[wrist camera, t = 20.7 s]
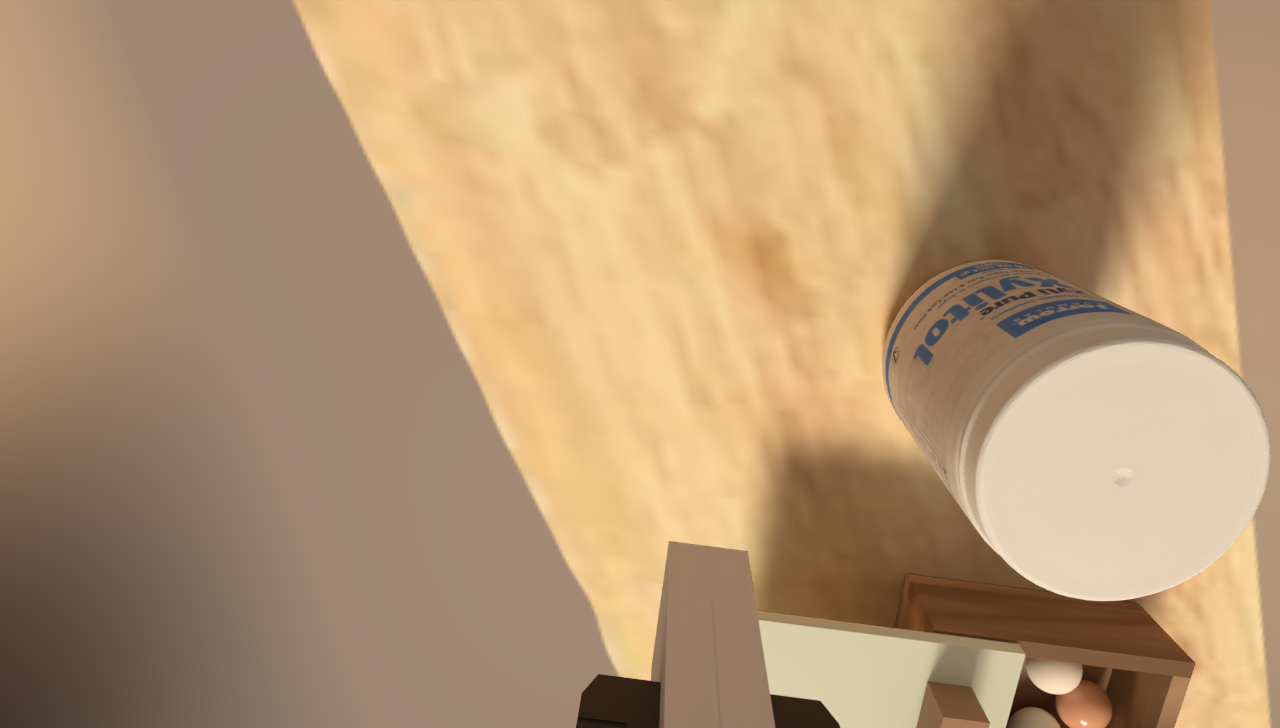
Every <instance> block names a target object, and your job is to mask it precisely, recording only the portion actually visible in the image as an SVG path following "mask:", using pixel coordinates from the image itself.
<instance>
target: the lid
mask: <svg viewBox="0 0 1280 728" xmlns="http://www.w3.org/2000/svg"><path fill="white" fill-rule="evenodd" d="M757 614H758V621H759V627H760V633H761V640H762V646H763V652H764V659H765V665H766V671H767V678H768V684H769V690H770V694H773V695H781V696H788V697H796V698H804V699H812V700H819V701H821V702H822V703H823V705H824V706H825V707H826V708H827V710H828V711H829V712H830V713H831V714H832V716H833V717H834V718H835V719H836V721H837V722H838V723H839V725H840V728H1006V725H1007V721H1008V718H1009V714H1010V710H1011V706H1012V703H1013V699H1014V695H1015V692H1016V688H1017V684H1018V680H1019V677H1020V673H1021V669H1022V666H1023V662H1024V658H1025V653H1024V651H1023V650H1022V648H1021V647H1020V645H1019V644H1015V643H1007V642H999V641H991V640H984V639H976V638H968V637H960V636H952V635H945V634H937V633H929V632H921V631H913V630H906V629H898V628H890V627H882V626H874V625H867V624H859V623H851V622H843V621H835V620H828V619H820V618H812V617H804V616H796V615H788V614H781V613H773V612H765V611H757Z"/></svg>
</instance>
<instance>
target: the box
mask: <svg viewBox="0 0 1280 728" xmlns="http://www.w3.org/2000/svg"><path fill="white" fill-rule="evenodd" d="M895 628H898V629H906V630H913V631H921V632H929V633H937V634H945V635H952V636H960V637H968V638H976V639H984V640H991V641H999V642H1007V643H1015V644H1019V645H1020V647H1021V648H1022V650H1023V651H1024V653H1025V658H1024V662H1023V666H1022V669H1021V673H1020V677H1019V680H1018V684H1017V688H1016V692H1015V695H1014V699H1013V703H1012V706H1011V710H1010V714H1009V718H1008V721H1007V725H1006V728H1008V723H1009V720H1010V718H1011V717H1012V715H1013V714H1014V713H1015V712H1016V711H1018V710H1020V709H1022V708H1025V707H1036V708H1040V709H1043V710H1045V711H1046V712H1048V713H1050V714H1051V715H1052V716H1053V717H1054V718H1055V719H1056V721H1057V722H1058V723H1059V725H1060V728H1070V727H1068V726H1067V725H1066V724H1065V723H1064V722H1063V721H1062V720H1061V718H1060V717H1059V715H1058V713H1057V710H1056V706H1055V697H1056V694H1050V693H1047V692H1045V691H1043V690H1041V689H1040V688H1038V687H1037V686H1036V685H1035V684H1034V683H1033V682H1032V681H1031V679H1030V678H1029V676H1028V674H1027V670H1026V665H1025V662H1026V657H1029V658H1037V659H1044V660H1052V661H1060V662H1068V663H1075V664H1082V668H1083V673H1082V678H1081V679H1086V680H1089V681H1092V682H1094V683H1096V684H1097V685H1099V686H1100V687H1101V688H1102V689H1103V690H1104V691H1105V692H1106V693H1107V695H1108V696H1109V698H1110V701H1111V704H1112V717H1111V720H1110V722H1109V724H1108V725H1107V726H1106V727H1105V728H1174V726H1175V723H1176V720H1177V717H1178V714H1179V711H1180V708H1181V705H1182V702H1183V699H1184V696H1185V693H1186V690H1187V687H1188V684H1189V681H1190V678H1191V675H1192V672H1193V669H1194V666H1195V662H1194V661H1193V660H1192V659H1191V658H1190V657H1189V656H1188V655H1187V654H1186V653H1185V652H1184V651H1183V650H1182V649H1181V648H1180V647H1179V646H1178V645H1177V644H1176V642H1175V641H1174V640H1173V639H1172V638H1171V637H1170V636H1169V635H1168V634H1167V633H1166V632H1165V631H1164V630H1163V629H1162V628H1161V627H1160V626H1159V625H1158V624H1157V623H1156V622H1155V621H1154V620H1153V618H1152V617H1151V616H1150V615H1149V614H1148V613H1147V612H1146V611H1145V610H1144V609H1143V608H1142V607H1141V606H1140V605H1139V604H1138V603H1131V602H1123V601H1092V600H1083V599H1078V598H1072V597H1067V596H1064V595H1060V594H1057V593H1052V592H1044V591H1037V590H1029V589H1021V588H1013V587H1005V586H997V585H989V584H982V583H974V582H966V581H958V580H950V579H942V578H935V577H927V576H919V575H911V574H906V578H905V583H904V587H903V592H902V596H901V601H900V605H899V610H898V614H897V619H896V623H895Z"/></svg>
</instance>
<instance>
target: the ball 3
mask: <svg viewBox="0 0 1280 728" xmlns="http://www.w3.org/2000/svg"><path fill="white" fill-rule="evenodd" d="M1055 706H1056V710H1057V713H1058V715H1059V717H1060V718H1061V720H1062V721H1063V722H1064V723H1065V724H1066V725H1067V726H1068V727H1070V728H1105V727H1106V726H1107V725H1108V724H1109V722H1110V720H1111V717H1112V704H1111V701H1110V698H1109V696H1108V695H1107V693H1106V692H1105V691H1104V690H1103V689H1102V688H1101V687H1100V686H1099V685H1097V684H1096V683H1094V682H1092V681H1089V680H1086V679H1081V681H1080V683H1079V684H1078V686H1077V687H1076V688H1075V689H1074V690H1072V691H1070V692H1068V693H1065V694H1056V697H1055Z"/></svg>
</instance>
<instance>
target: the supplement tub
mask: <svg viewBox="0 0 1280 728" xmlns="http://www.w3.org/2000/svg"><path fill="white" fill-rule="evenodd" d="M882 374H883V381H884V386H885V390H886V393H887V396H888V399H889V401H890V403H891V405H892V407H893V409H894V410H895V412H896V414H897V415H898V417H899V418H900V420H901V421H902V423H903V424H904V426H905V427H906V429H907V430H908V432H909V433H910V434H911V436H912V438H913V439H914V440H915V442H916V443H917V445H918V447H919V448H920V449H921V451H922V452H923V454H924V455H925V457H926V458H927V459H928V461H929V462H930V464H931V465H932V467H933V468H934V470H935V471H936V473H937V474H938V476H939V477H940V478H941V480H942V481H943V483H944V484H945V486H946V487H947V489H948V490H949V492H950V493H951V494H952V496H953V497H954V499H955V500H956V502H957V503H958V504H959V506H960V507H961V509H962V510H963V512H964V513H965V515H966V516H967V517H968V519H969V520H970V521H971V523H972V524H973V526H974V527H975V528H976V530H977V531H978V532H979V534H980V535H981V537H982V538H983V539H984V540H985V541H986V542H987V544H988V545H989V546H990V547H991V548H992V549H993V550H994V551H995V552H996V553H998V554H999V555H1000V556H1001V557H1002V558H1003V559H1004V560H1005V561H1006V562H1007V563H1008V564H1009V565H1010V566H1011V567H1012V568H1013V569H1014V570H1015V571H1017V572H1018V573H1019V574H1021V575H1022V576H1023V577H1025V578H1026V579H1028V580H1029V581H1031V582H1033V583H1034V584H1036V585H1038V586H1040V587H1043V588H1045V589H1047V590H1049V591H1052V592H1054V593H1057V594H1060V595H1064V596H1067V597H1072V598H1078V599H1083V600H1092V601H1120V600H1128V599H1134V598H1139V597H1144V596H1147V595H1151V594H1155V593H1158V592H1161V591H1163V590H1166V589H1169V588H1171V587H1174V586H1176V585H1178V584H1180V583H1182V582H1184V581H1186V580H1188V579H1190V578H1191V577H1193V576H1195V575H1196V574H1198V573H1200V572H1201V571H1203V570H1204V569H1206V568H1207V567H1208V566H1210V565H1211V564H1212V563H1213V562H1215V561H1216V560H1217V559H1218V558H1219V557H1220V556H1221V555H1223V554H1224V553H1225V552H1226V551H1227V550H1228V549H1229V548H1230V547H1231V546H1232V545H1233V543H1234V542H1235V541H1236V540H1237V539H1238V538H1239V537H1240V536H1241V534H1242V533H1243V531H1244V530H1245V528H1246V527H1247V525H1248V524H1249V522H1250V521H1251V519H1252V517H1253V516H1254V514H1255V512H1256V510H1257V507H1258V506H1259V504H1260V501H1261V498H1262V496H1263V493H1264V490H1265V488H1266V483H1267V478H1268V474H1269V467H1270V455H1271V452H1270V440H1269V432H1268V427H1267V424H1266V421H1265V418H1264V414H1263V412H1262V409H1261V407H1260V405H1259V403H1258V401H1257V399H1256V397H1255V396H1254V394H1253V393H1252V391H1251V390H1250V388H1249V387H1248V386H1247V384H1246V383H1245V382H1244V380H1243V379H1242V378H1241V377H1240V376H1239V375H1238V374H1237V373H1236V372H1235V371H1233V370H1232V369H1231V368H1230V367H1229V366H1227V365H1226V364H1225V363H1224V362H1222V361H1221V360H1219V359H1218V358H1216V357H1215V356H1213V355H1212V354H1210V353H1209V352H1208V351H1207V350H1205V349H1204V348H1203V347H1201V346H1200V345H1198V344H1197V343H1195V342H1194V341H1192V340H1191V339H1189V338H1188V337H1186V336H1184V335H1182V334H1181V333H1179V332H1177V331H1174V330H1172V329H1170V328H1168V327H1166V326H1164V325H1162V324H1160V323H1158V322H1156V321H1153V320H1151V319H1149V318H1147V317H1144V316H1142V315H1140V314H1138V313H1135V312H1133V311H1131V310H1129V309H1127V308H1124V307H1122V306H1120V305H1118V304H1115V303H1113V302H1111V301H1109V300H1107V299H1105V298H1102V297H1100V296H1098V295H1096V294H1093V293H1091V292H1089V291H1087V290H1084V289H1082V288H1080V287H1078V286H1075V285H1073V284H1071V283H1069V282H1066V281H1064V280H1062V279H1060V278H1057V277H1055V276H1053V275H1051V274H1048V273H1046V272H1044V271H1041V270H1039V269H1037V268H1034V267H1032V266H1029V265H1026V264H1023V263H1019V262H1014V261H1008V260H981V261H974V262H969V263H966V264H962V265H959V266H956V267H953V268H951V269H948V270H946V271H944V272H942V273H940V274H938V275H937V276H935V277H933V278H932V279H930V280H929V281H927V282H926V283H925V284H923V285H922V286H921V287H920V288H919V289H918V290H916V291H915V292H914V293H913V294H912V295H911V297H910V298H909V299H908V300H907V301H906V303H905V304H904V305H903V307H902V308H901V309H900V311H899V313H898V314H897V316H896V318H895V319H894V321H893V323H892V325H891V328H890V330H889V332H888V335H887V338H886V341H885V345H884V349H883V357H882Z"/></svg>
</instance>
